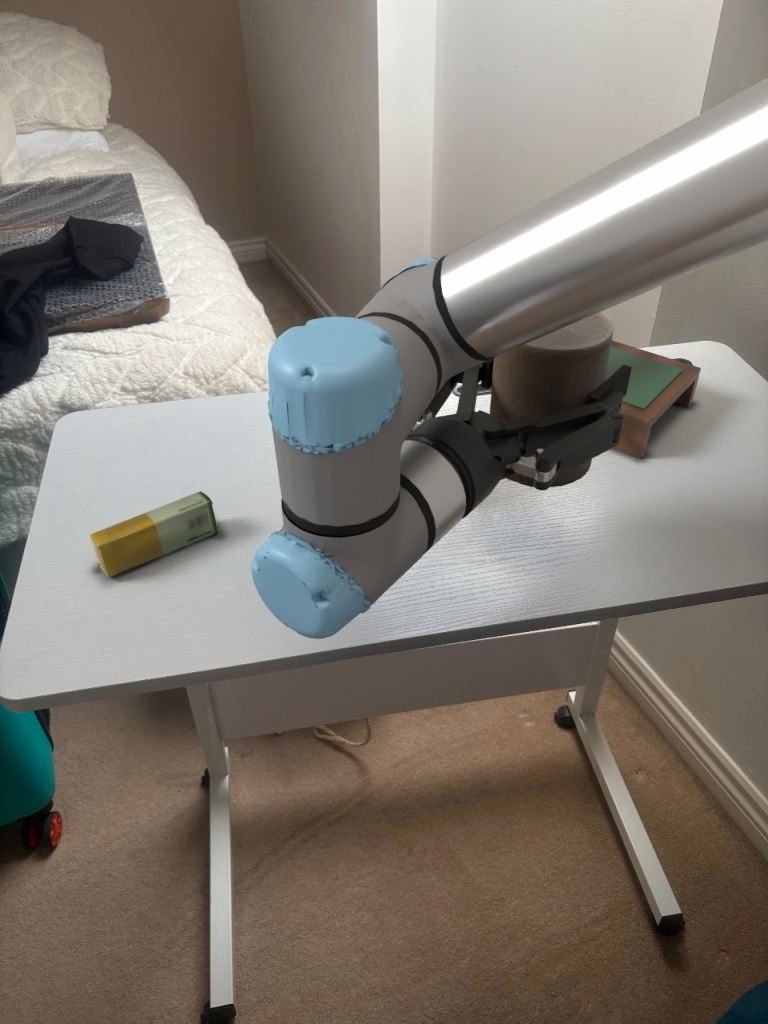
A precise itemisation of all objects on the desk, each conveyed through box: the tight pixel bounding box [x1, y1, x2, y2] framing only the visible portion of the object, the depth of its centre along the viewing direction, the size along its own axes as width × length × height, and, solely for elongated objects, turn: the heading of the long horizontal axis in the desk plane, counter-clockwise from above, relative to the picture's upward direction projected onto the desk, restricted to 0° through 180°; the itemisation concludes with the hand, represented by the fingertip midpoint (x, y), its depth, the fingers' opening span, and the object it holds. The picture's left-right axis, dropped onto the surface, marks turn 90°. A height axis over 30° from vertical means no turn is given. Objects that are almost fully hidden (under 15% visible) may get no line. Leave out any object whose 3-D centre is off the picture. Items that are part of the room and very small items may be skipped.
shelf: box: [605, 339, 702, 459], centre depth 100 cm, size 14×15×7 cm
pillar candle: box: [488, 311, 614, 488], centre depth 73 cm, size 10×10×15 cm
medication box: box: [89, 491, 219, 578], centre depth 82 cm, size 12×3×4 cm, turn 126°
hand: (572, 362), depth 75 cm, fingers closed on pillar candle, 10 cm apart
